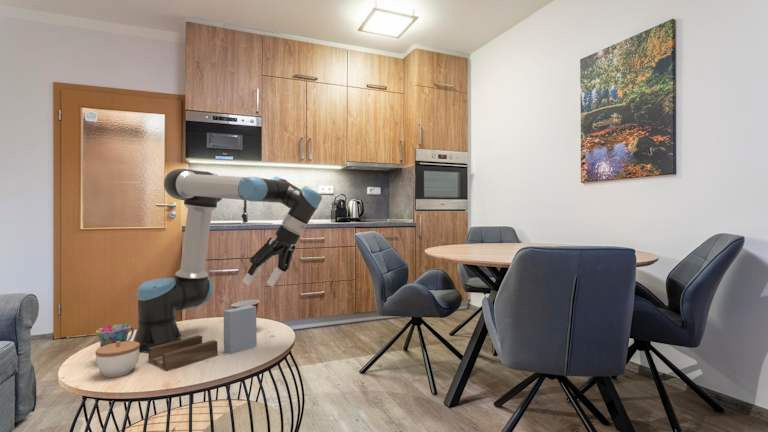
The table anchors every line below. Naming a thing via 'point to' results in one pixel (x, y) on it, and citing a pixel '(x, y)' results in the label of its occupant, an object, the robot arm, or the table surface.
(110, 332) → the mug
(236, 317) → the slate tile
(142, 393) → the table surface
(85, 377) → the table surface
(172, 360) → the walnut rack
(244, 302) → the plastic cup
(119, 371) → the lidded jar
